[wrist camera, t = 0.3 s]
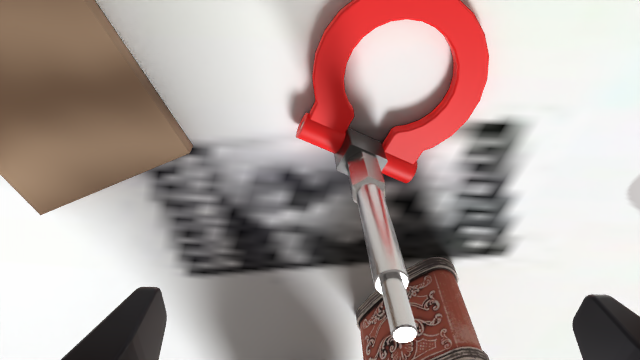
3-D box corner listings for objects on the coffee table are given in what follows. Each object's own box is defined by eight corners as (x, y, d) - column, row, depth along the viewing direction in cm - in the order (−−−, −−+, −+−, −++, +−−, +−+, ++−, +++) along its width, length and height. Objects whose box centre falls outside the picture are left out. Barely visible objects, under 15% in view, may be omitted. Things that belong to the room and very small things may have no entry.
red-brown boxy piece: (378, 332, 32) (400, 486, 24) (345, 312, 31) (356, 466, 23) (465, 273, 29) (527, 426, 21) (432, 247, 28) (484, 399, 19)
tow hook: (363, -56, 19) (279, 124, 23) (451, -26, 8) (258, 311, 12) (515, 30, 21) (413, 181, 25) (756, 151, 10) (502, 386, 14)
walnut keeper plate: (193, 145, 24) (189, 153, 23) (47, 206, 26) (40, 215, 25) (65, -44, 19) (55, -42, 18) (-103, 51, 21) (-117, 56, 20)
